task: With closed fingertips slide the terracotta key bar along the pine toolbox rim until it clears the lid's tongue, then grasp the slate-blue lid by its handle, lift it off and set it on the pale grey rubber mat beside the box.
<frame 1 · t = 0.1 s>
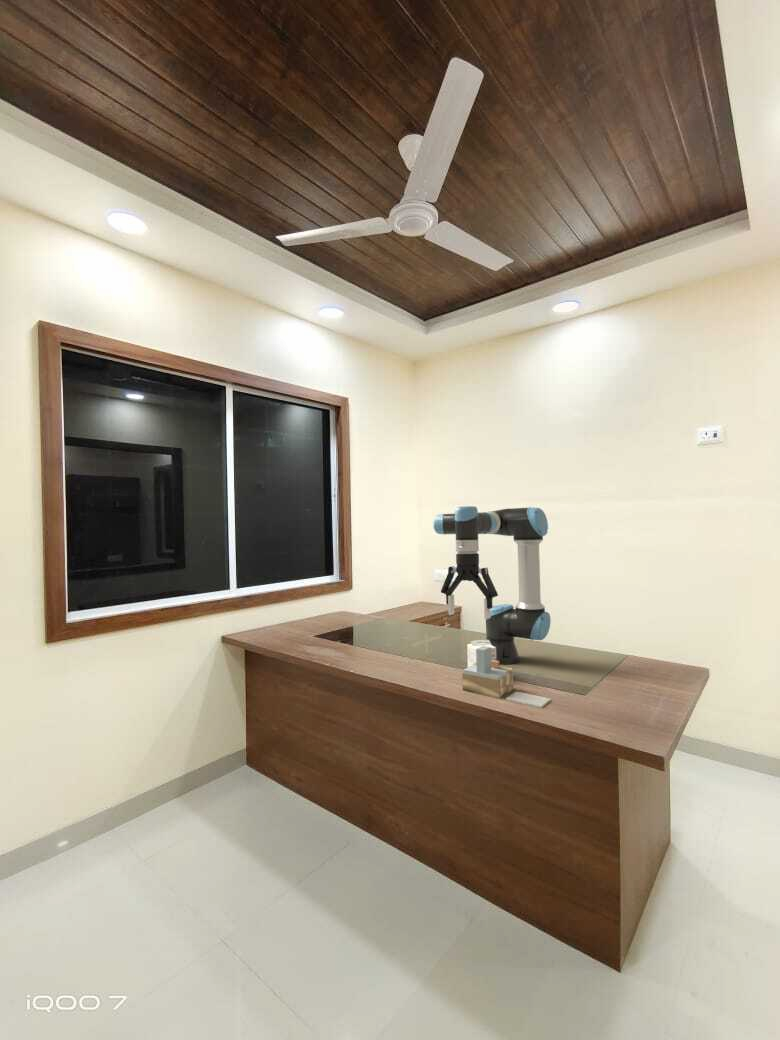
hand: (469, 616, 159), 28 cm above the table, fingers open, 13 cm apart
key: (491, 663, 171), point 8 cm above the table, slide at 0.0 cm
mat: (528, 700, 157), on the table
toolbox: (488, 689, 168), on the table
ink box: (482, 676, 184), on the table
lid: (484, 674, 166), point 6 cm above the table, touching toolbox
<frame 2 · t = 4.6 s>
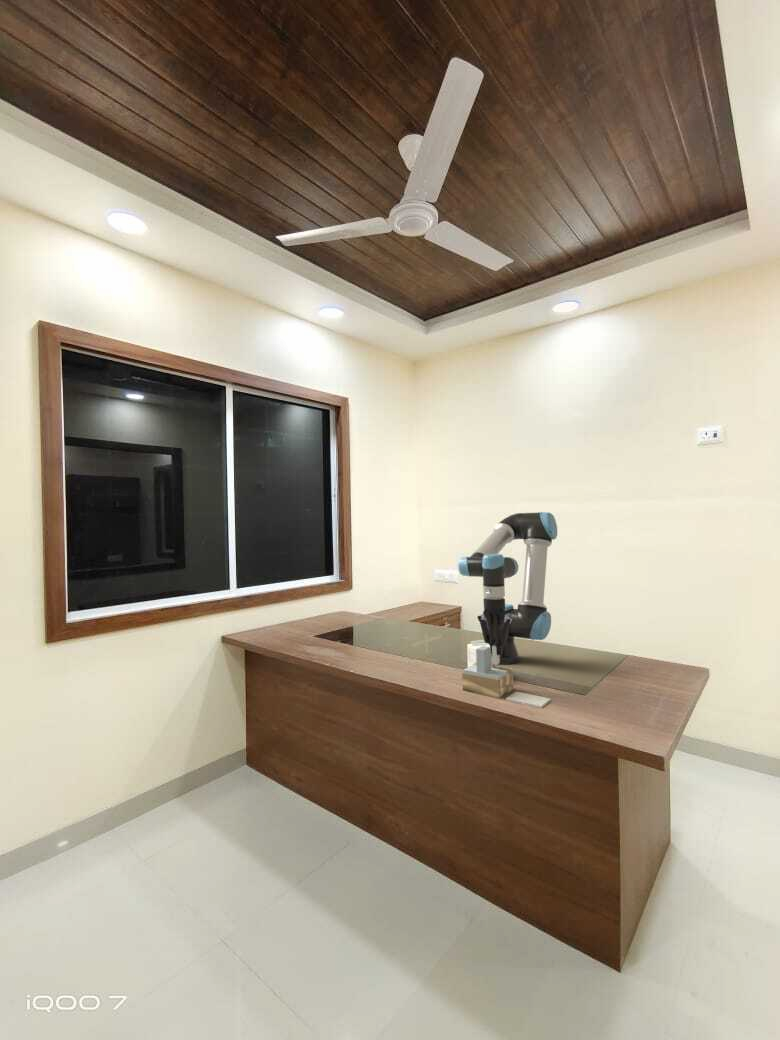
hand: (496, 663, 170), 9 cm above the table, fingers closed
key: (487, 662, 172), point 8 cm above the table, slide at 1.6 cm, touching gripper
everything else where it was.
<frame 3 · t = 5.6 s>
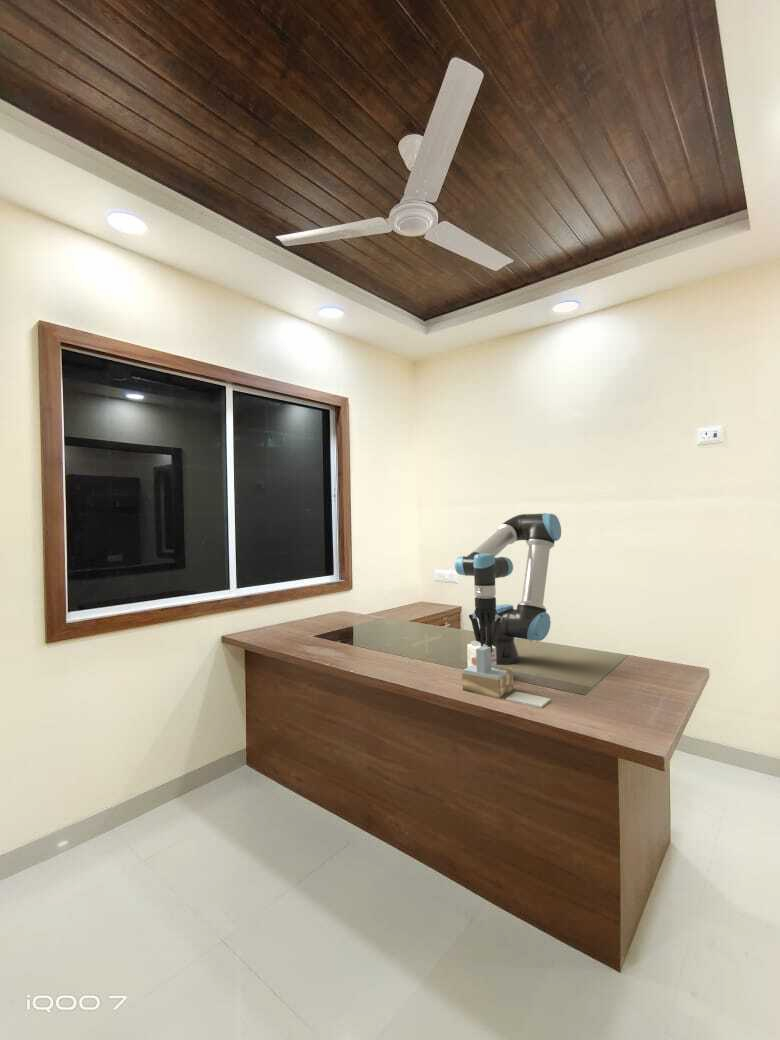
hand: (487, 661, 172), 9 cm above the table, fingers closed
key: (479, 661, 174), point 8 cm above the table, slide at 5.2 cm, touching gripper
everything else where it was.
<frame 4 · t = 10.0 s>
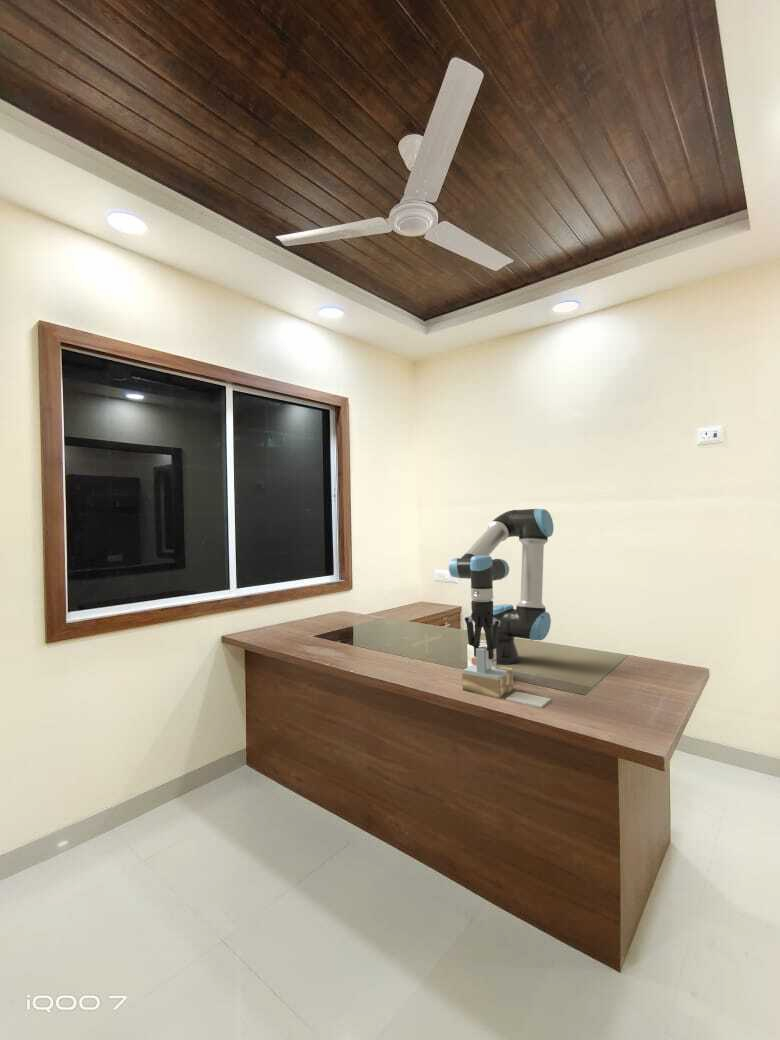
hand: (483, 667, 167), 9 cm above the table, fingers closed on lid, 3 cm apart
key: (478, 661, 174), point 8 cm above the table, slide at 5.2 cm
lid: (484, 674, 166), point 6 cm above the table, touching gripper, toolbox
everything else where it was.
when the fingers open (5 cm above the table, at t = 16.3 s): lid stays where it is, resting on mat.
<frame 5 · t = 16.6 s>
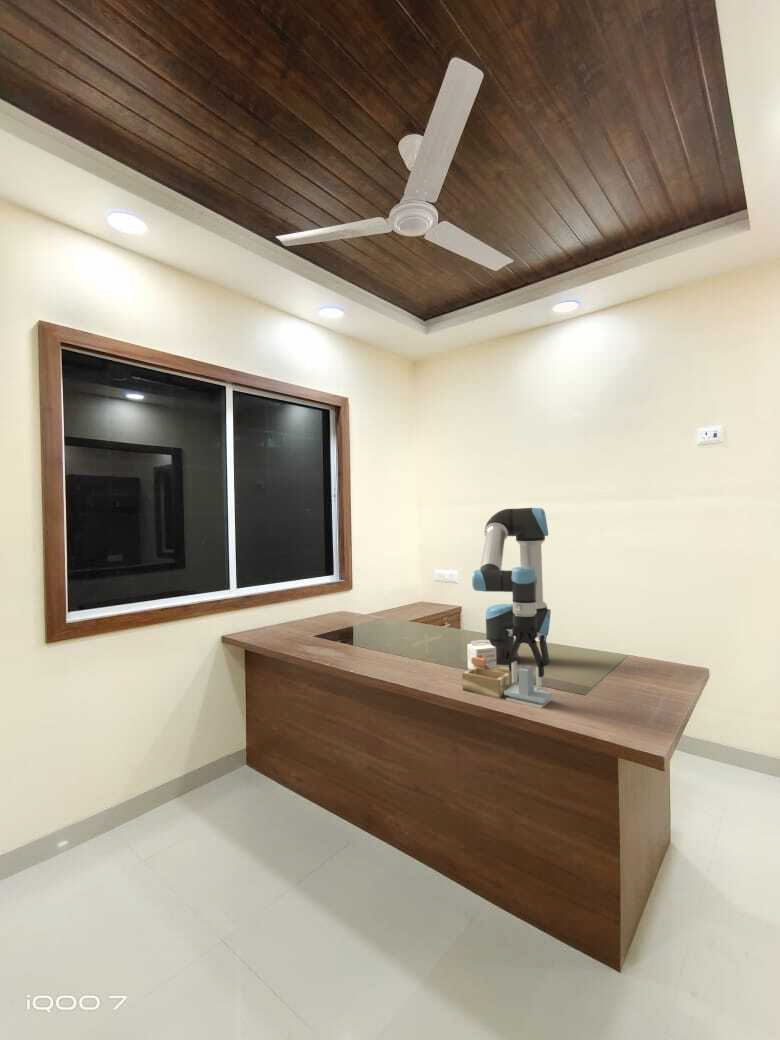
hand: (526, 683, 157), 6 cm above the table, fingers open, 8 cm apart
lid: (526, 696, 157), point 2 cm above the table, touching mat
everything else where it was.
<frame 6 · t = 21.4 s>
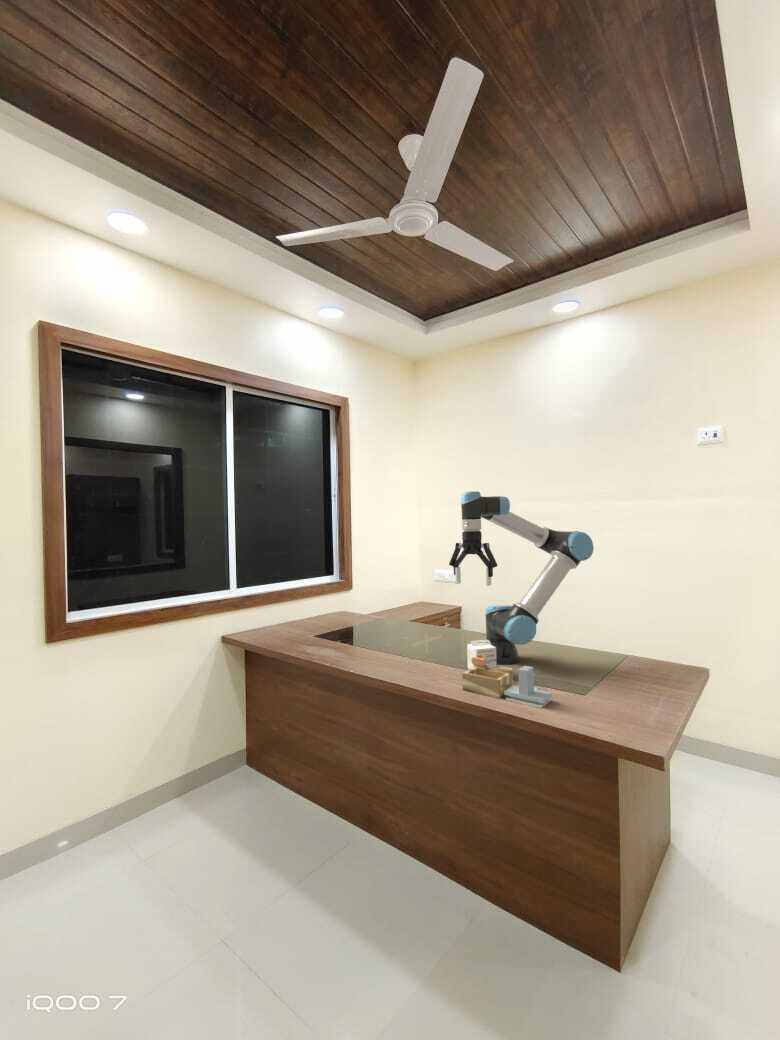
hand: (473, 584, 188), 35 cm above the table, fingers open, 13 cm apart
nothing on the table moved.
at the end: lid inside the target area (0.3 cm from its centre), point 1.6 cm above the table; lid tilted 0°; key slide at 5.2 cm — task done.
